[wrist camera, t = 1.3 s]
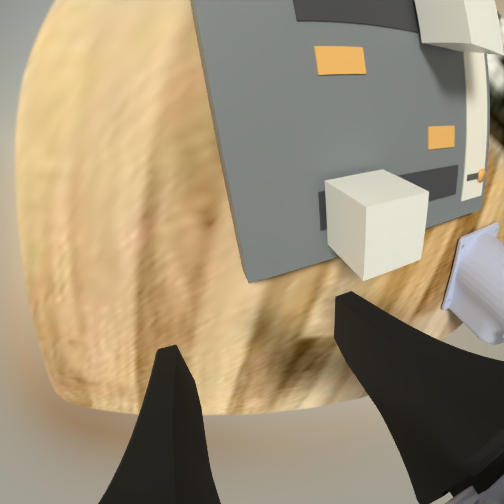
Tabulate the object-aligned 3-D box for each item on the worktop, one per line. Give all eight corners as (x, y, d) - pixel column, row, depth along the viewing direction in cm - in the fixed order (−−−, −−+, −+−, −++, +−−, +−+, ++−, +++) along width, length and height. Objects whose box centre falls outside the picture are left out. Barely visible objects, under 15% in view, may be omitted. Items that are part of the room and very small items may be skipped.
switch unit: (470, 202, 23) (483, 210, 21) (243, 270, 20) (250, 286, 18) (464, 2, 13) (480, 1, 11) (183, -36, 10) (186, -49, 8)
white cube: (381, 228, 18) (420, 259, 15) (327, 244, 18) (363, 281, 14) (382, 169, 16) (429, 191, 13) (324, 180, 16) (366, 207, 12)
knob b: (458, 51, 13) (503, 55, 10) (421, 42, 13) (471, 43, 9) (450, 1, 11) (494, -1, 8) (411, -13, 11) (458, -21, 7)
